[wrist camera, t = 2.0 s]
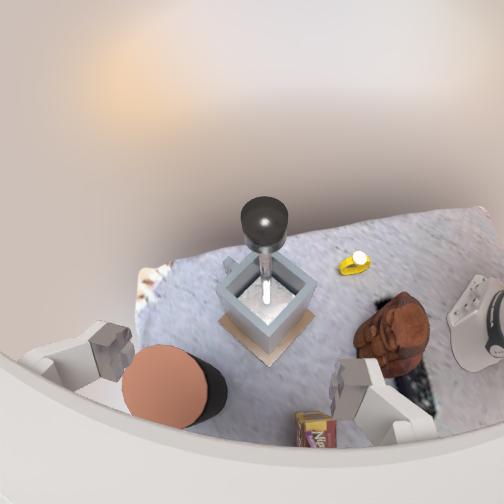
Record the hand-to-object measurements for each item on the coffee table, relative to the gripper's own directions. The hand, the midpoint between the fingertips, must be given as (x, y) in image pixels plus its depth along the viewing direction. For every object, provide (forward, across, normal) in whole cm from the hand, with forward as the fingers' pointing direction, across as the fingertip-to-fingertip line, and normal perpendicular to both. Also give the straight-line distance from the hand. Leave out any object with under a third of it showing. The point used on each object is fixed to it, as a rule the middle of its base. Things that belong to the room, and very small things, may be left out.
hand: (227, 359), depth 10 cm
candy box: (+22, -9, +34) cm, 41 cm away
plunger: (+28, 0, +12) cm, 30 cm away
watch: (+44, -15, +12) cm, 48 cm away
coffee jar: (+26, +10, +30) cm, 41 cm away
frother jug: (+36, 0, +20) cm, 41 cm away
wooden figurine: (+33, -19, +22) cm, 44 cm away
